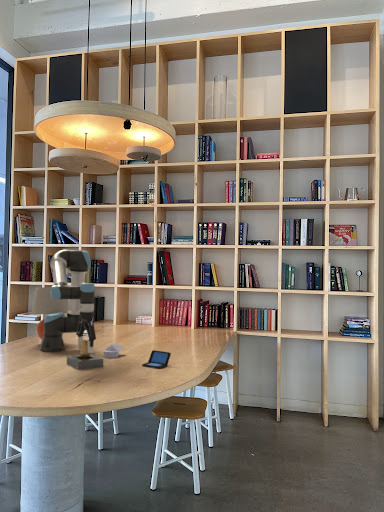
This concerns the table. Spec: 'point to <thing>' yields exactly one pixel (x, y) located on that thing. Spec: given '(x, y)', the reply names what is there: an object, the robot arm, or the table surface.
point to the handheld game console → (158, 359)
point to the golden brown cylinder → (84, 350)
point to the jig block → (84, 362)
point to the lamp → (47, 307)
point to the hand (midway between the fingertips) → (85, 350)
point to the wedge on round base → (112, 351)
